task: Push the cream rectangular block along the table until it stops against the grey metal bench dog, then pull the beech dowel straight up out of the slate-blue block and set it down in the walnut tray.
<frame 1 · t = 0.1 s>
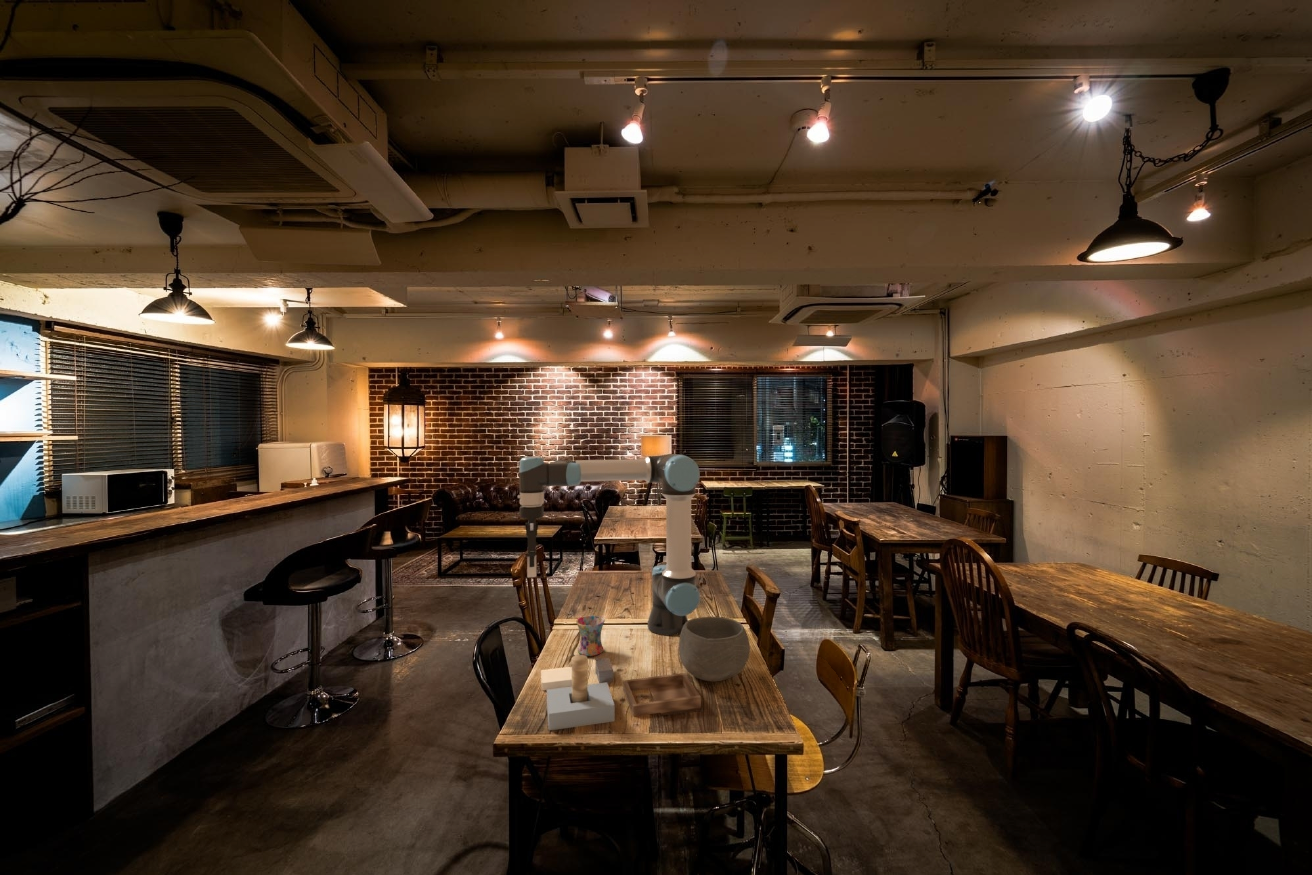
hand: (531, 571, 167), 28 cm above the table, fingers open, 13 cm apart
dowel: (579, 712, 133), point 1 cm above the table, touching dowel block
dowel block: (579, 716, 133), on the table
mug: (591, 651, 173), on the table
bowl: (713, 676, 155), on the table
bench dog: (604, 679, 153), on the table
cream rectangular block: (559, 686, 149), on the table
tray: (660, 701, 140), on the table
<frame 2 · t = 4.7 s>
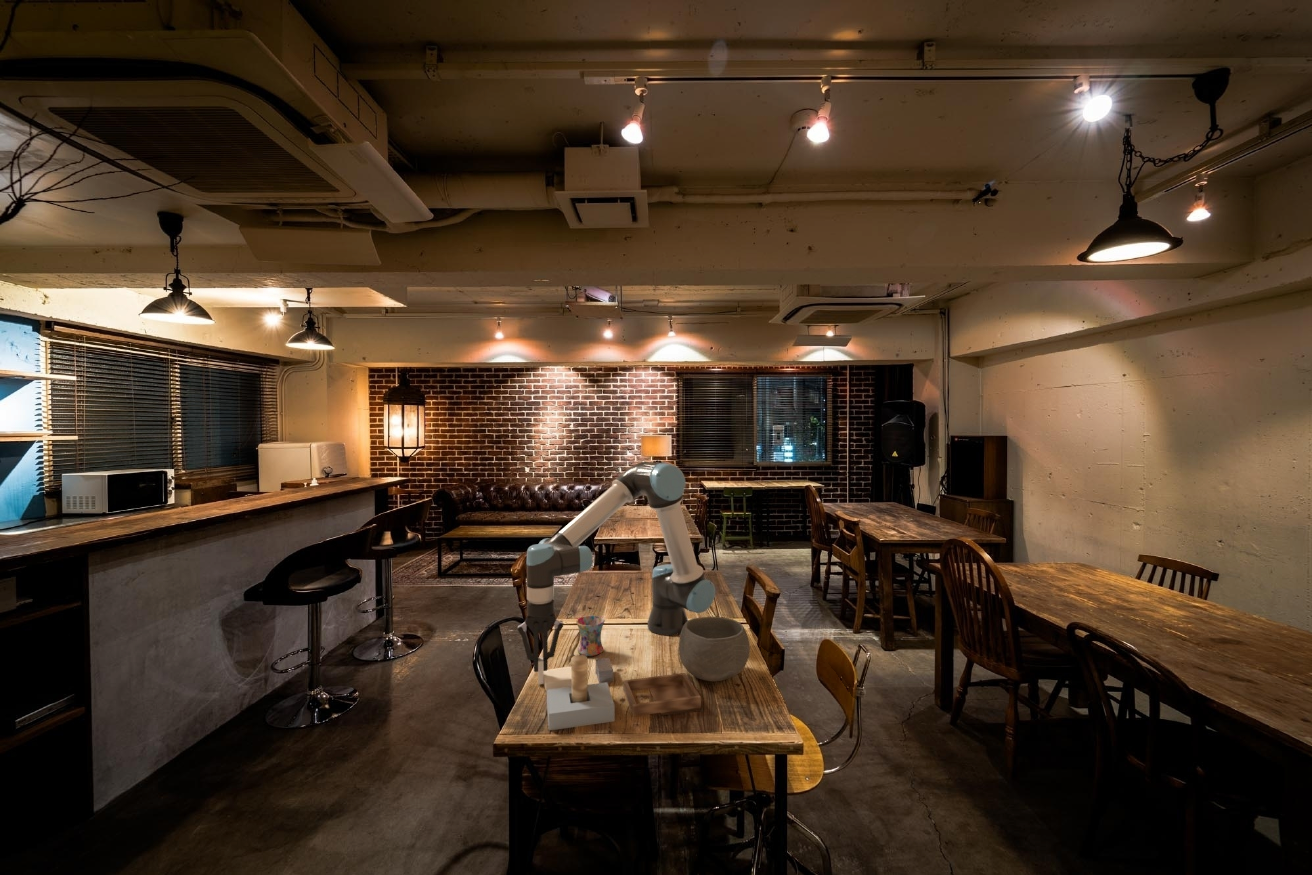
hand: (540, 681, 148), 1 cm above the table, fingers closed
cream rectangular block: (561, 685, 150), on the table, touching gripper
everything else where it was.
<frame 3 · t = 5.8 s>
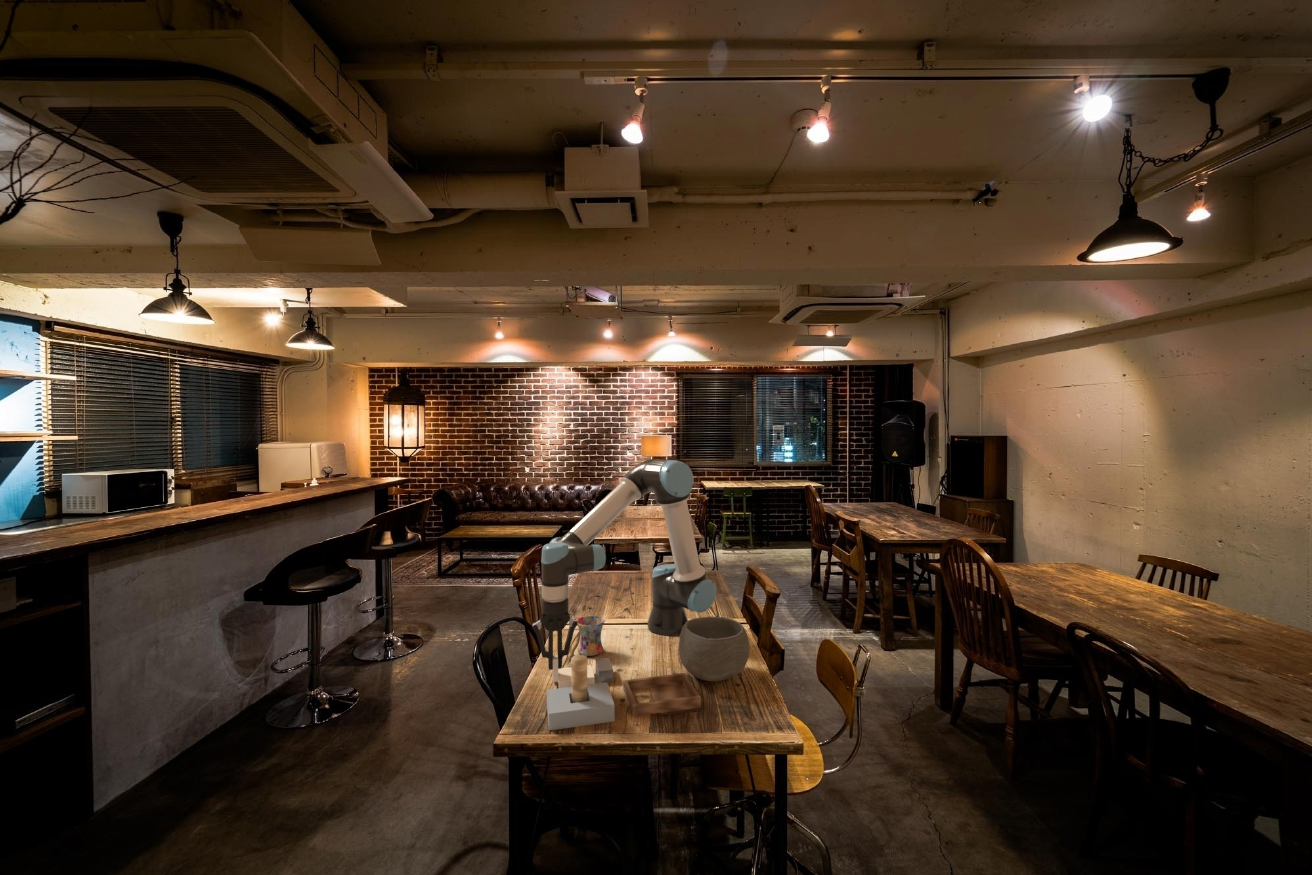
hand: (555, 679, 149), 2 cm above the table, fingers closed
cream rectangular block: (575, 684, 150), on the table, touching gripper
everything else where it was.
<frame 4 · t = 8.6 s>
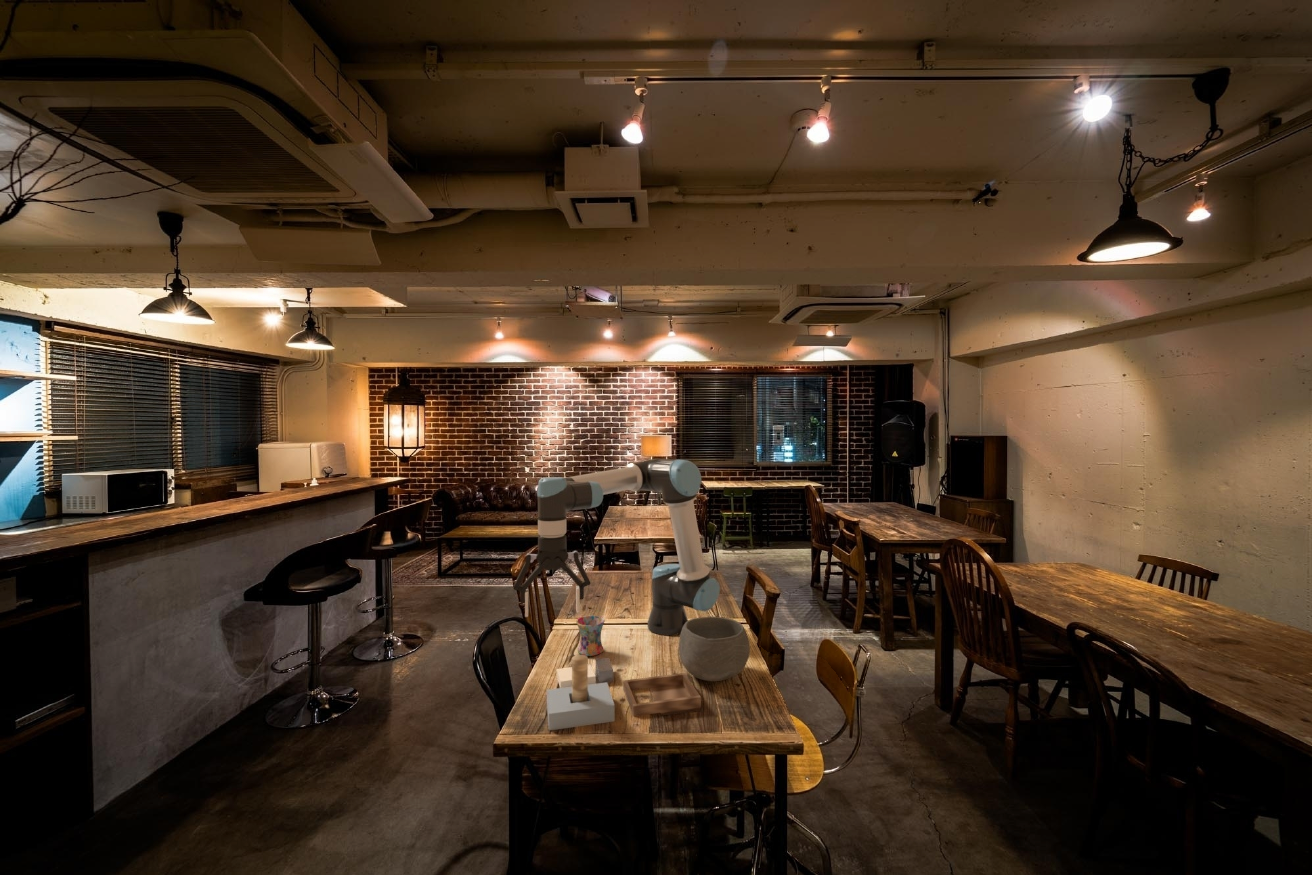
hand: (552, 613, 140), 24 cm above the table, fingers open, 13 cm apart
cream rectangular block: (575, 684, 150), on the table
everything else where it was.
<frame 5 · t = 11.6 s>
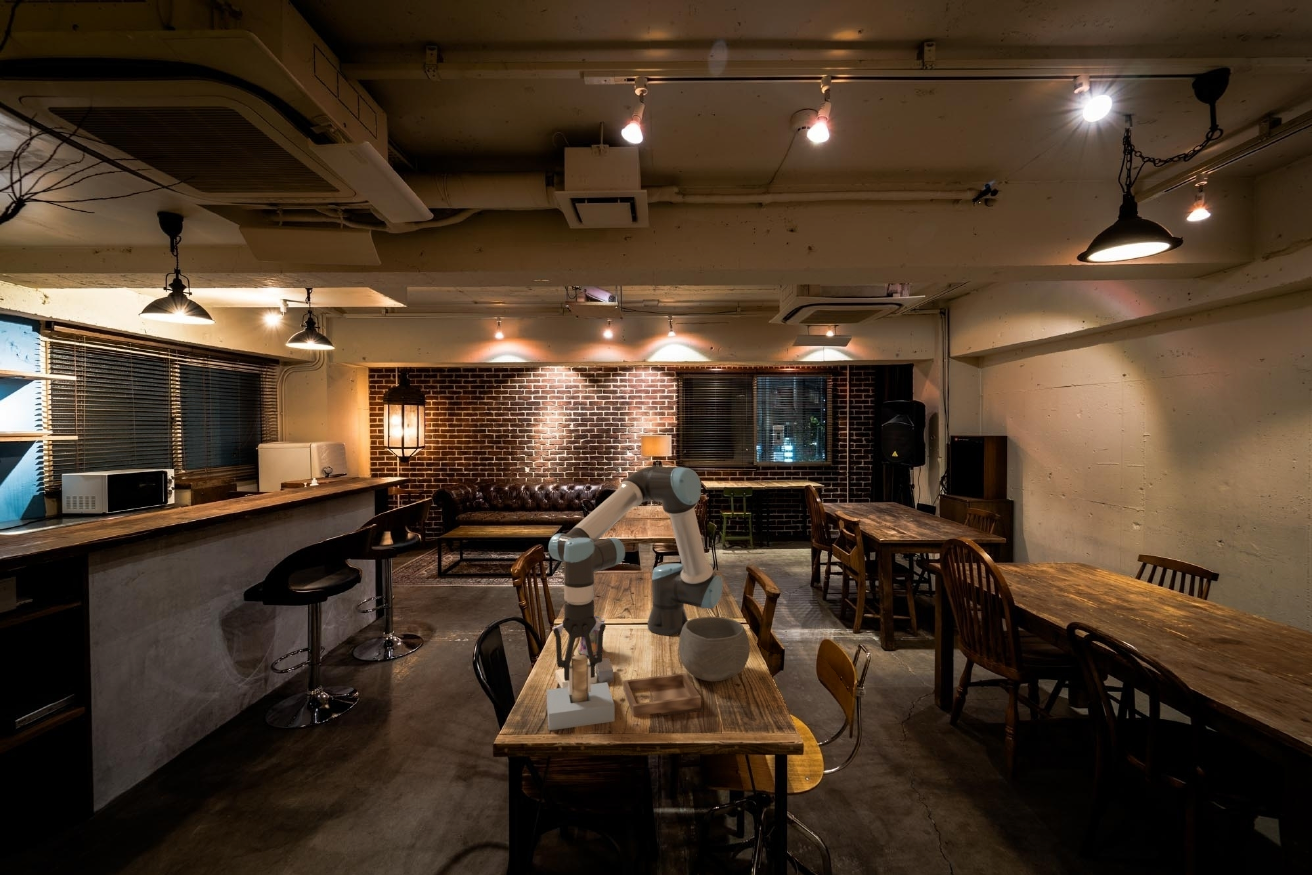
hand: (579, 690, 133), 7 cm above the table, fingers closed on dowel, 4 cm apart
dowel: (579, 712, 133), point 1 cm above the table, touching dowel block, gripper
everything else where it was.
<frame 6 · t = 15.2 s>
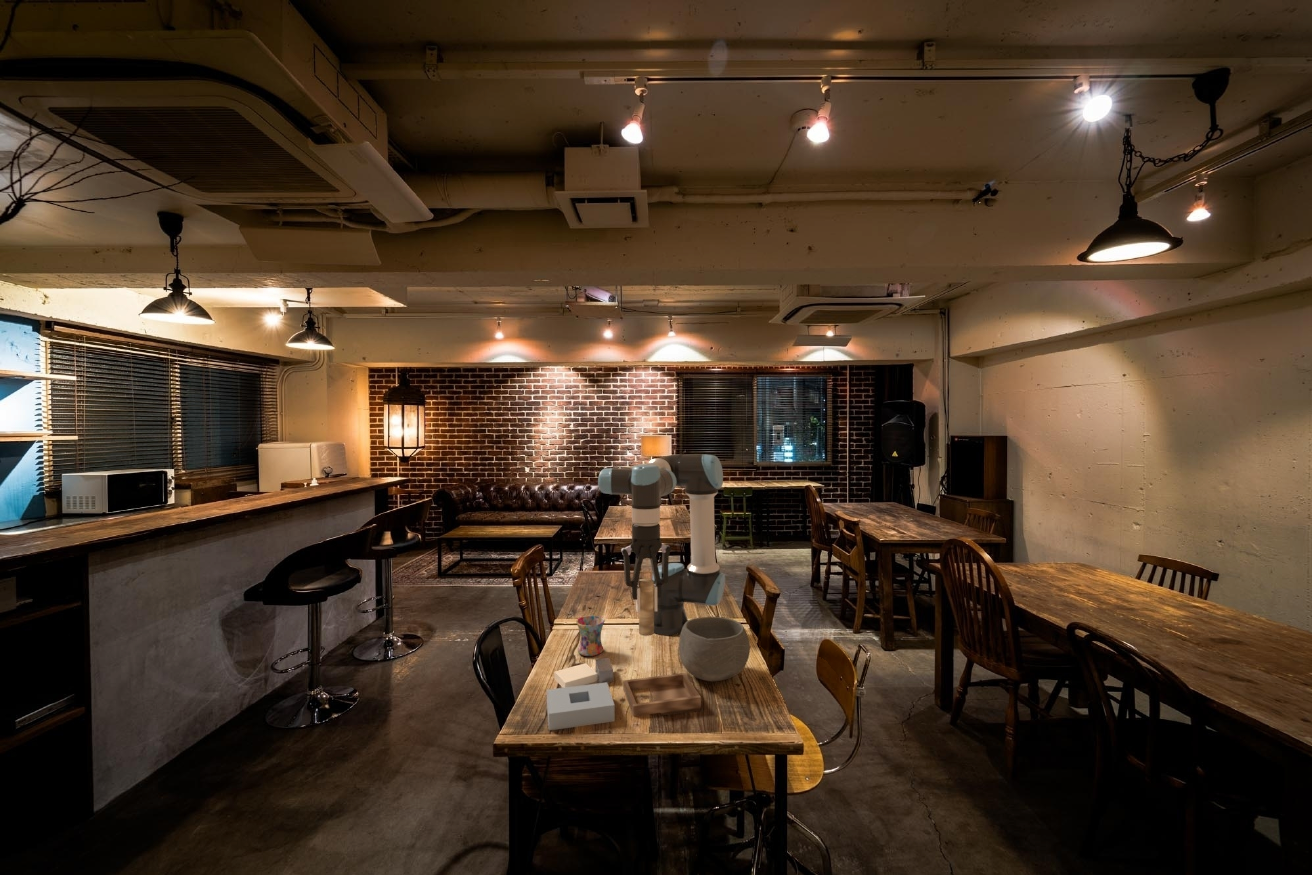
hand: (646, 610, 139), 25 cm above the table, fingers closed on dowel, 4 cm apart
dowel: (646, 632, 139), point 19 cm above the table, touching gripper
everything else where it was.
when the fingers open (8 cm above the table, at t = 19.2 s): dowel drops 2 cm, resting on tray.
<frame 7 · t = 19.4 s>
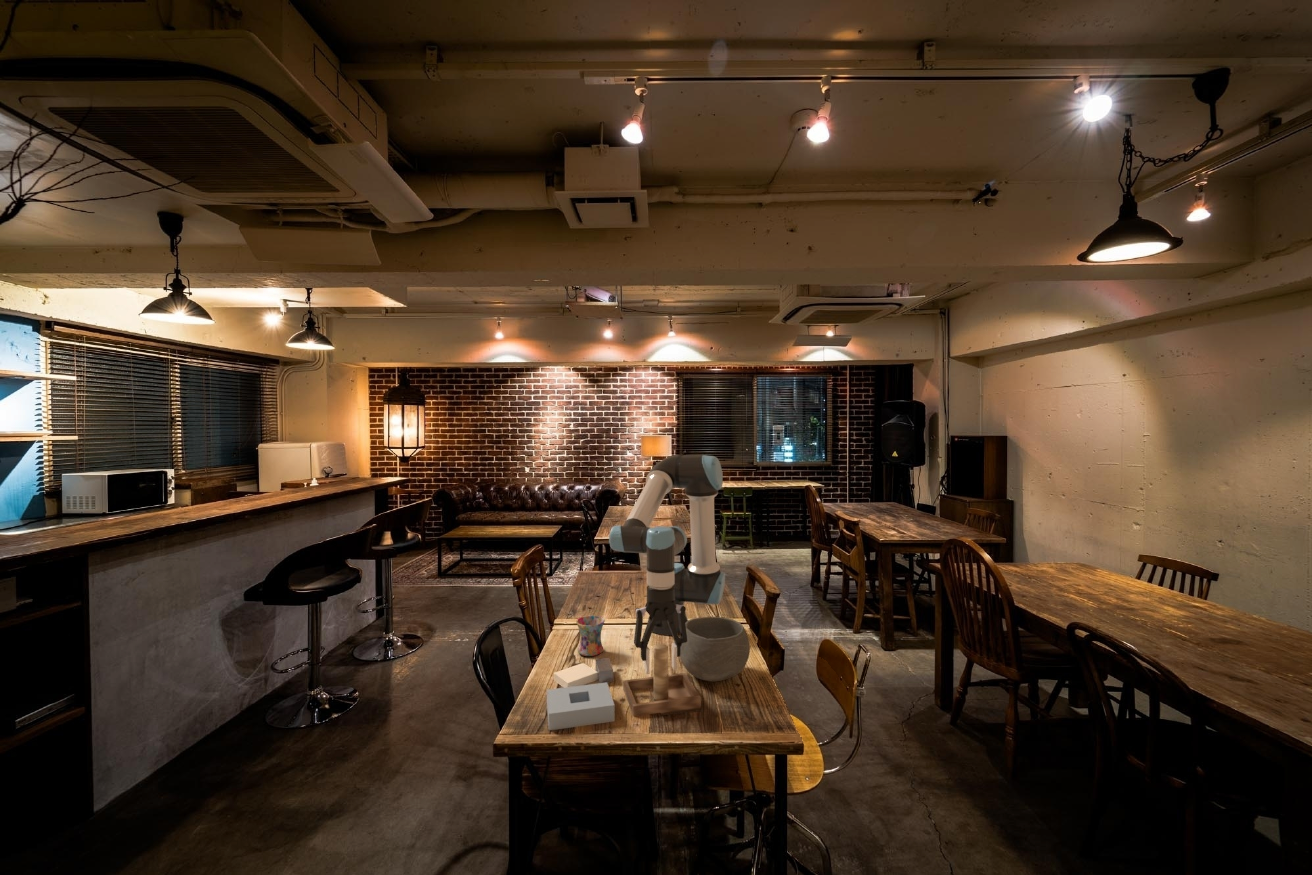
hand: (660, 669, 140), 9 cm above the table, fingers open, 7 cm apart
dowel: (661, 698, 140), point 1 cm above the table, touching tray
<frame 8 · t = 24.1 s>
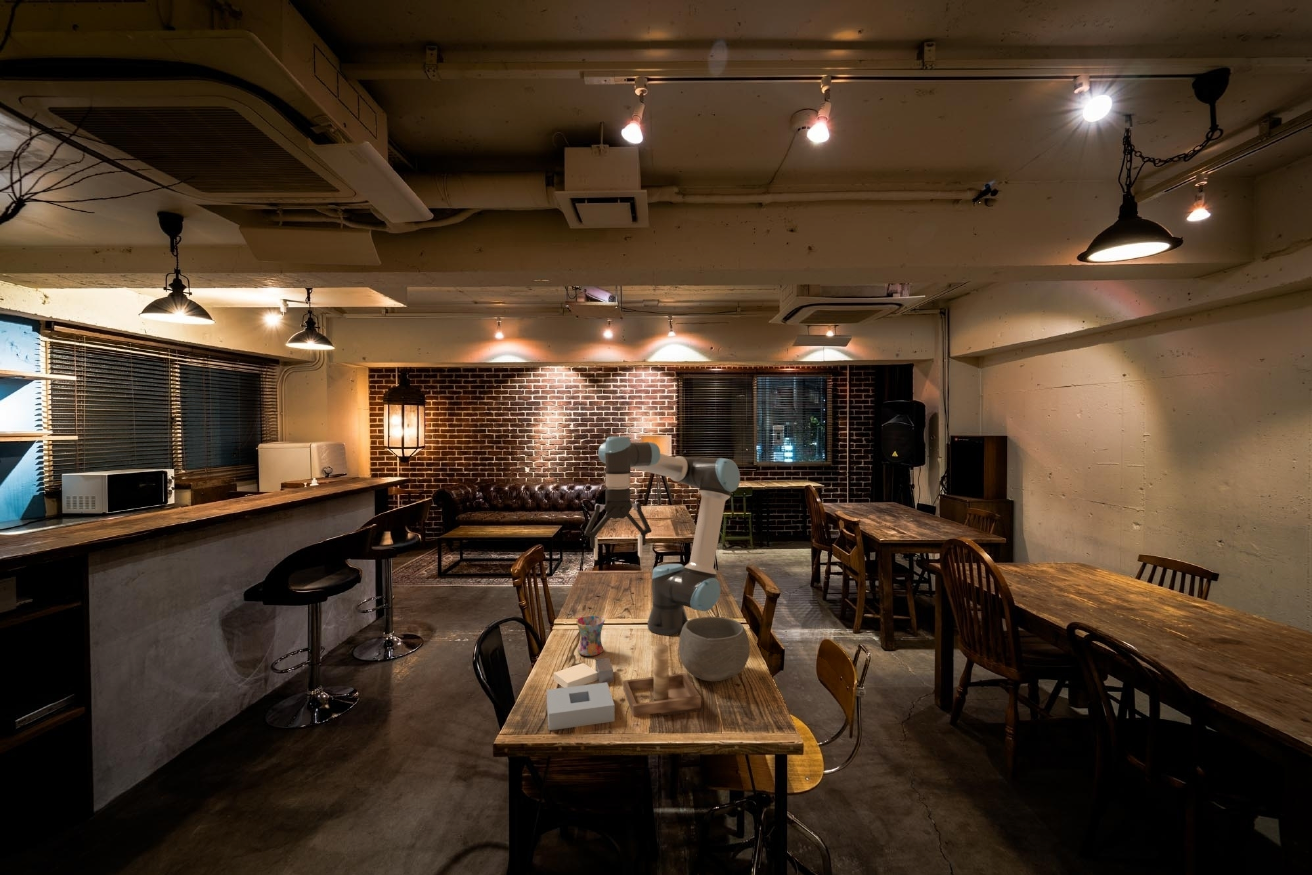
hand: (618, 557, 157), 35 cm above the table, fingers open, 13 cm apart
nothing on the table moved.
at the end: cream rectangular block inside the target area (1.1 cm from its centre), on the table; dowel inside the target area on the tray (0.1 cm from its centre), point 0.8 cm above the tray's base; the gripper is holding nothing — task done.
